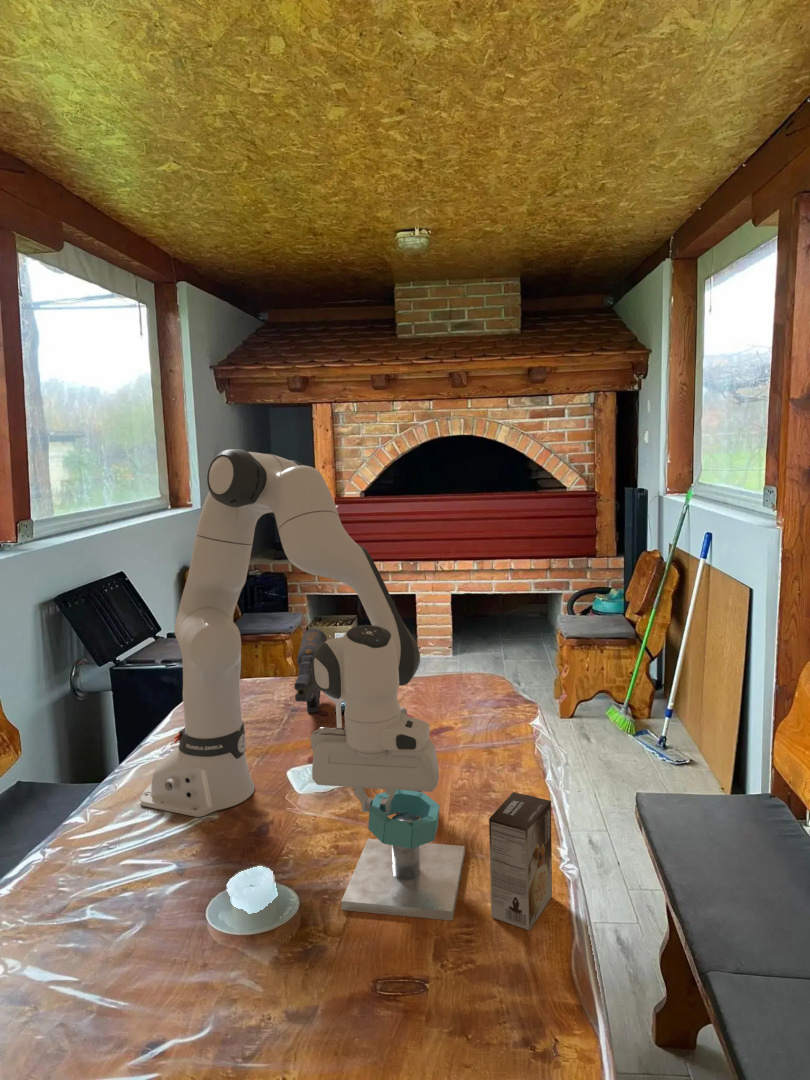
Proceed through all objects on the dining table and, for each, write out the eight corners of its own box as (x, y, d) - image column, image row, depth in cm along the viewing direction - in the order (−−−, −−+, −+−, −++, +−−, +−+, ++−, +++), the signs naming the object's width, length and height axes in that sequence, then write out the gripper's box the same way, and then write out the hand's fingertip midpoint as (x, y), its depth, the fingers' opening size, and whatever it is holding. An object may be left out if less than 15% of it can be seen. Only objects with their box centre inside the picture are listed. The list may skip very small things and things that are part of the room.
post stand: (341, 910, 108) (338, 846, 107) (368, 846, 125) (365, 790, 123) (452, 920, 105) (450, 855, 103) (464, 854, 121) (463, 796, 120)
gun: (331, 695, 199) (327, 625, 196) (317, 737, 171) (312, 657, 168) (306, 695, 199) (302, 626, 196) (289, 738, 171) (284, 658, 168)
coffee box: (514, 884, 113) (513, 789, 111) (553, 896, 109) (552, 799, 107) (489, 918, 105) (488, 817, 103) (530, 932, 102) (529, 828, 99)
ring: (363, 840, 110) (364, 819, 109) (378, 804, 120) (379, 785, 119) (431, 852, 108) (432, 831, 107) (440, 815, 118) (442, 795, 117)
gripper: (303, 734, 111) (308, 817, 113) (433, 740, 107) (435, 826, 109) (316, 718, 117) (320, 797, 119) (439, 724, 113) (441, 805, 115)
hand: (376, 811), depth 114 cm, fingers closed on ring, 2 cm apart
